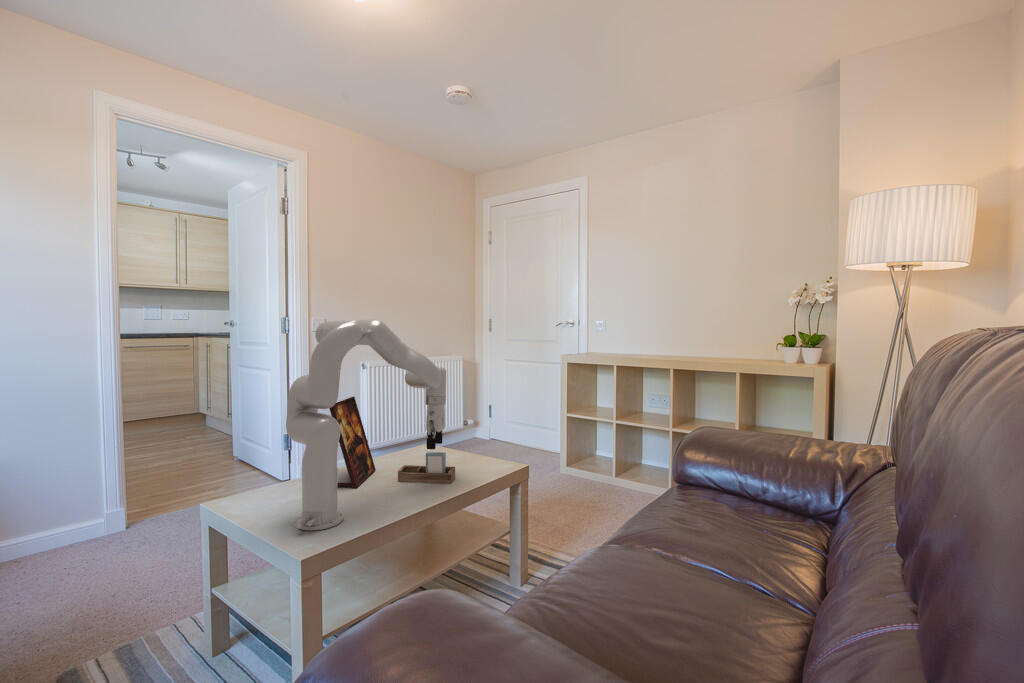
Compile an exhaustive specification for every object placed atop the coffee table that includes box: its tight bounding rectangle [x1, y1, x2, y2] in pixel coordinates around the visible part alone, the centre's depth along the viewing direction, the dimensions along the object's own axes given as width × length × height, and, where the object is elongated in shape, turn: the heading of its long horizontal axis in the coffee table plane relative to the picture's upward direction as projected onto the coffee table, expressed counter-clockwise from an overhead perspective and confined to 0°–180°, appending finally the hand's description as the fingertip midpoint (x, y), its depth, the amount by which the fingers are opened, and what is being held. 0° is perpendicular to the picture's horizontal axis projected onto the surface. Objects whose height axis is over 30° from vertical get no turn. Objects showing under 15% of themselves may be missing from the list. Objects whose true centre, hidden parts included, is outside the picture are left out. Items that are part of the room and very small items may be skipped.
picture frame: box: [328, 395, 377, 489], centre depth 173 cm, size 21×11×30 cm, turn 179°
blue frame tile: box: [425, 451, 447, 473], centre depth 172 cm, size 2×7×9 cm, turn 84°
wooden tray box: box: [397, 464, 456, 484], centre depth 173 cm, size 7×20×4 cm, turn 84°
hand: (434, 446), depth 172 cm, fingers open, 9 cm apart
